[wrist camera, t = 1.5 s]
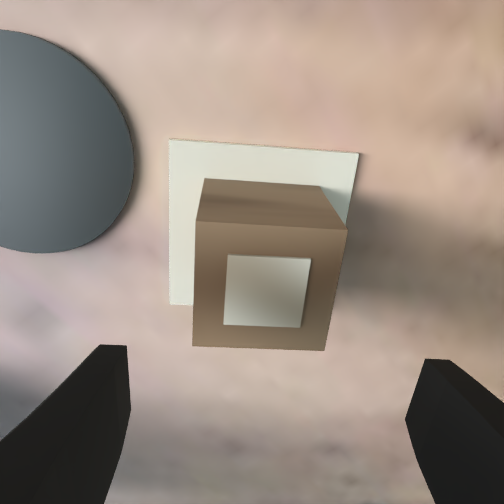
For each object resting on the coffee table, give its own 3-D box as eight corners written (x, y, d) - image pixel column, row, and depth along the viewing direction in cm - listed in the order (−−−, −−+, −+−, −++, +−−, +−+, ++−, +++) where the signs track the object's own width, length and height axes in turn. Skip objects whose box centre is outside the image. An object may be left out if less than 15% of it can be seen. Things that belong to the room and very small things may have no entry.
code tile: (327, 308, 21) (328, 311, 21) (170, 300, 21) (169, 304, 20) (357, 152, 18) (359, 154, 18) (169, 138, 17) (168, 139, 17)
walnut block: (303, 284, 20) (324, 352, 16) (200, 279, 20) (192, 347, 15) (319, 185, 18) (348, 231, 14) (204, 178, 18) (195, 222, 13)
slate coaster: (138, 254, 20) (136, 258, 19) (-64, 244, 19) (-69, 247, 19) (129, 41, 16) (127, 41, 15) (-125, 17, 15) (-134, 17, 15)
